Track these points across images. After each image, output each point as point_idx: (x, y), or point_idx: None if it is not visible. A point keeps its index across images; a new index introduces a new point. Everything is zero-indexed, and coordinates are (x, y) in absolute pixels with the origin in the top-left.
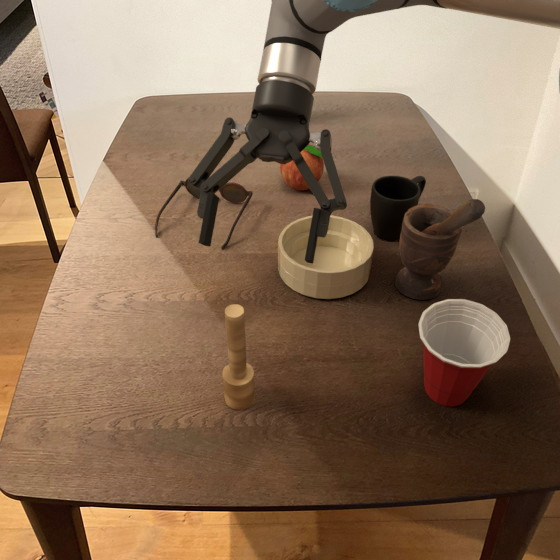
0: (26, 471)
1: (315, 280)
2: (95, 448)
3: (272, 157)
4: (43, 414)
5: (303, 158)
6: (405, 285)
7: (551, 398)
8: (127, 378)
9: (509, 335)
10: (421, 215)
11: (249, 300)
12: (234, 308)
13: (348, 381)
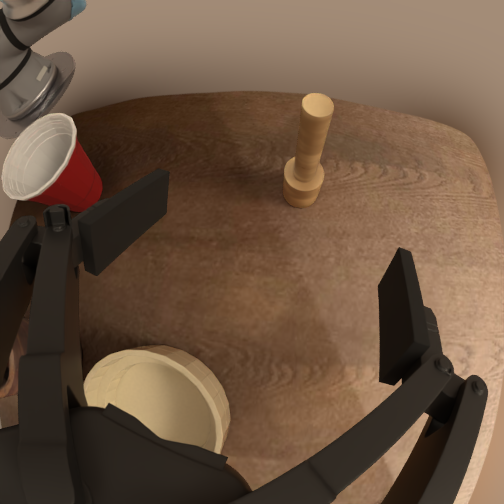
0: (466, 146)
1: (173, 355)
2: (428, 154)
3: (159, 439)
4: (478, 198)
5: (24, 356)
6: None
7: None
8: (424, 232)
9: (9, 150)
10: (2, 384)
11: (279, 362)
12: (318, 108)
13: (171, 205)
